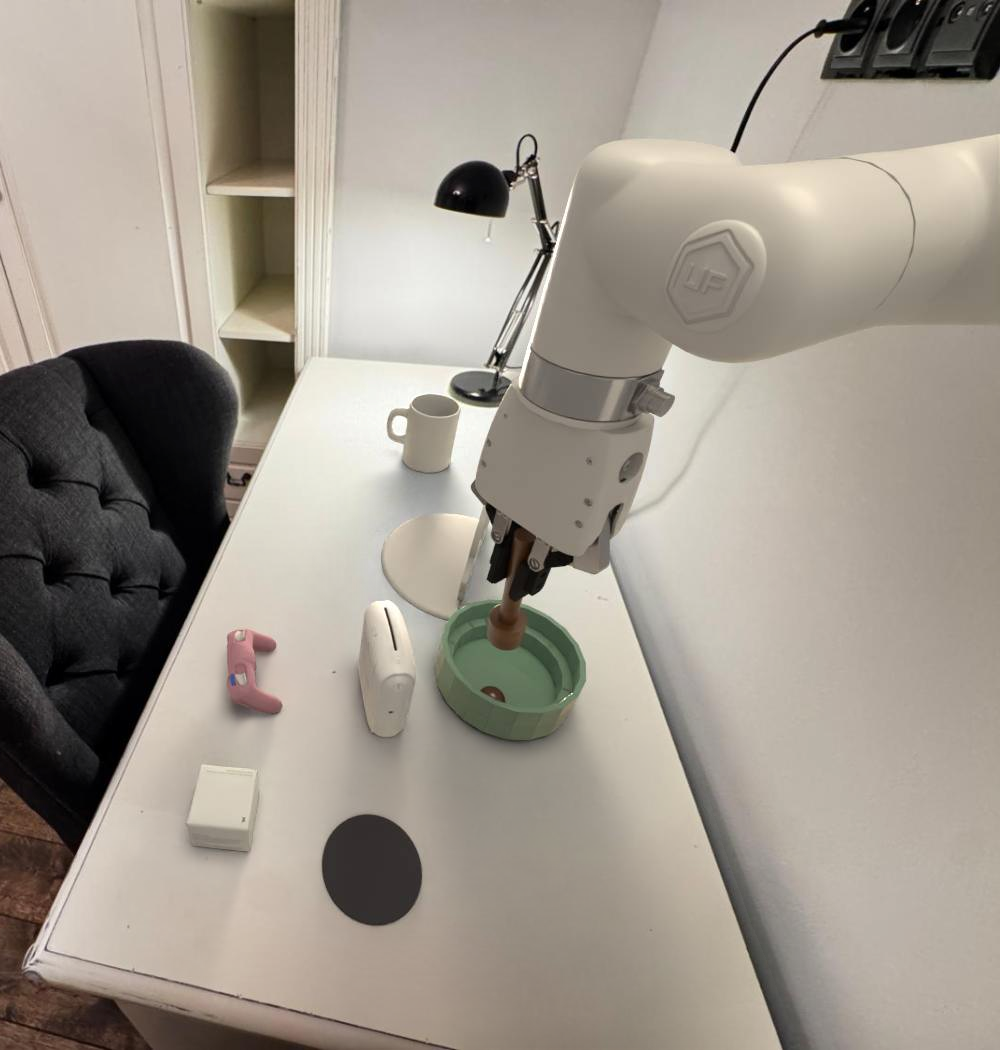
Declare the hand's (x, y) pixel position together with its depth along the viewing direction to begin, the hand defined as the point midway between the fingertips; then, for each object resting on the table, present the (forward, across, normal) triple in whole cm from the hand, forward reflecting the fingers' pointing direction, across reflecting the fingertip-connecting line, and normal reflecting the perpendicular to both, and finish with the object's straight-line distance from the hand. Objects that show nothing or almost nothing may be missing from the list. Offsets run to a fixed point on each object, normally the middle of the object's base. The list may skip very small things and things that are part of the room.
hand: (512, 583), depth 47 cm
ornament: (+23, +23, -16) cm, 36 cm away
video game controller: (+23, +18, +16) cm, 33 cm away
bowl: (+23, +2, -8) cm, 24 cm away
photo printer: (+23, +8, +5) cm, 25 cm away
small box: (+23, +6, +26) cm, 35 cm away
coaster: (+23, -5, +17) cm, 29 cm away
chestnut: (+21, 0, -4) cm, 21 cm away
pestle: (+8, 0, -2) cm, 8 cm away
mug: (+23, +43, -32) cm, 58 cm away
